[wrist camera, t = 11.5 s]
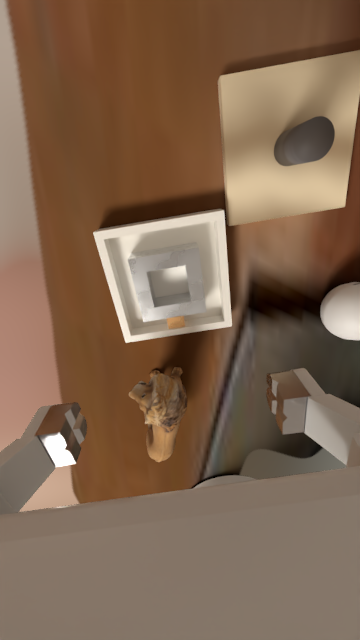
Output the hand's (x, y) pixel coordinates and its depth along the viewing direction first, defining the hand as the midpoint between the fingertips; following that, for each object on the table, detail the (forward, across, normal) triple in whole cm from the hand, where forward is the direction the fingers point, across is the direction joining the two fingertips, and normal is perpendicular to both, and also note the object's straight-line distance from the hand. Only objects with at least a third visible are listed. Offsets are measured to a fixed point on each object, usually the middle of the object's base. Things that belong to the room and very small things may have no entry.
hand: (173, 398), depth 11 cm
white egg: (+16, -18, +4) cm, 25 cm away
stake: (+16, -11, -10) cm, 22 cm away
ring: (+16, 0, 0) cm, 16 cm away
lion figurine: (+17, +4, +14) cm, 22 cm away
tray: (+16, 0, 0) cm, 16 cm away
